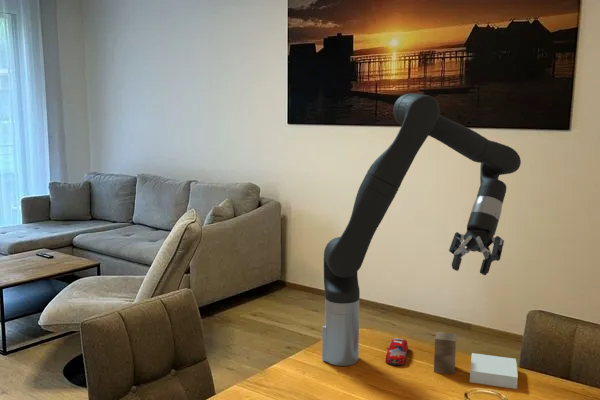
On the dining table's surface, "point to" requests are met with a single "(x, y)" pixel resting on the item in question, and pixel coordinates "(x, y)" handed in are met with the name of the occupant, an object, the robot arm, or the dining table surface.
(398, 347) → the race car
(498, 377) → the riser
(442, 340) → the walnut block
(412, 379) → the dining table surface
